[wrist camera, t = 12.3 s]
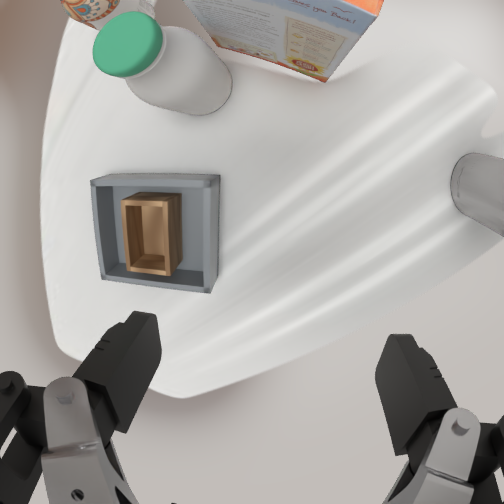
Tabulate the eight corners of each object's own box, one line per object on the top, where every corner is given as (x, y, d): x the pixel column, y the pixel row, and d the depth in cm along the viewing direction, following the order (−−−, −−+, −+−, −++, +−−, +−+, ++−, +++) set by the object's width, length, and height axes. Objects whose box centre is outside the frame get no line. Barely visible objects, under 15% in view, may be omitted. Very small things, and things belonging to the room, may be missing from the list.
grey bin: (219, 174, 35) (210, 180, 31) (218, 275, 40) (210, 293, 36) (110, 174, 36) (90, 180, 32) (118, 264, 41) (101, 279, 37)
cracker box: (341, 45, 28) (402, -39, 8) (324, 85, 30) (380, 22, 11) (234, 9, 27) (188, -91, 8) (215, 47, 29) (146, -35, 10)
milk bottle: (245, 76, 31) (206, 10, 12) (209, 127, 33) (131, 118, 15) (194, 48, 29) (115, -20, 11) (160, 98, 32) (55, 74, 14)
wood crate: (181, 193, 36) (167, 201, 31) (182, 259, 39) (170, 276, 34) (139, 191, 36) (120, 200, 31) (142, 255, 39) (126, 270, 35)
